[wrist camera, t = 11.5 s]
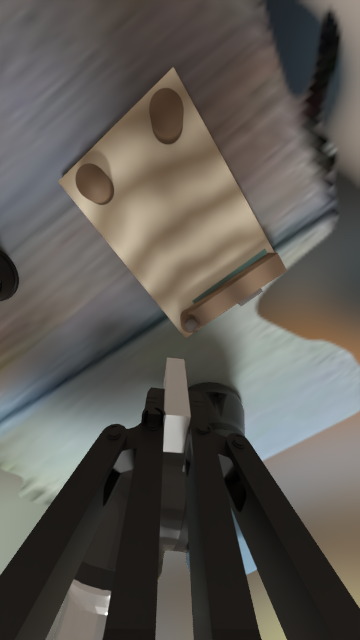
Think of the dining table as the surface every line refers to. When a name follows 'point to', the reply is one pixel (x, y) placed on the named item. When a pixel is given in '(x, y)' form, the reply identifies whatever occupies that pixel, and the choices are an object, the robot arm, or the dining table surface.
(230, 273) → the stool seat
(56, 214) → the dining table surface
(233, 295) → the folding leg
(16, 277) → the french press
